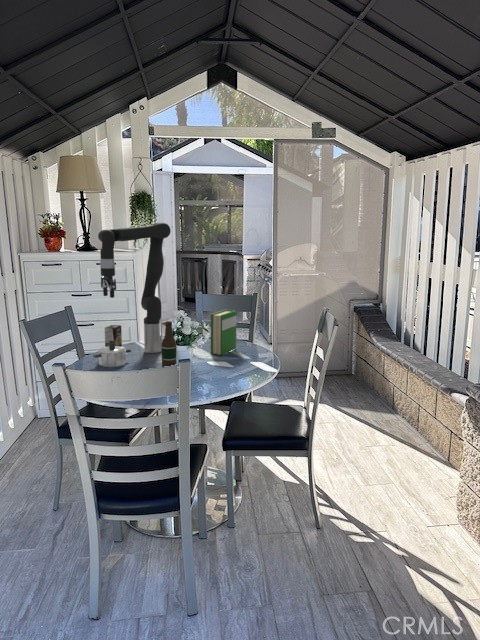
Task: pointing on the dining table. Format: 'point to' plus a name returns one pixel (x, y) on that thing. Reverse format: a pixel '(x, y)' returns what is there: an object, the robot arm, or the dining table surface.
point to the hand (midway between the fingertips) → (108, 296)
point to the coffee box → (113, 335)
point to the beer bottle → (169, 347)
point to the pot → (112, 359)
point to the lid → (112, 348)
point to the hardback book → (223, 331)
